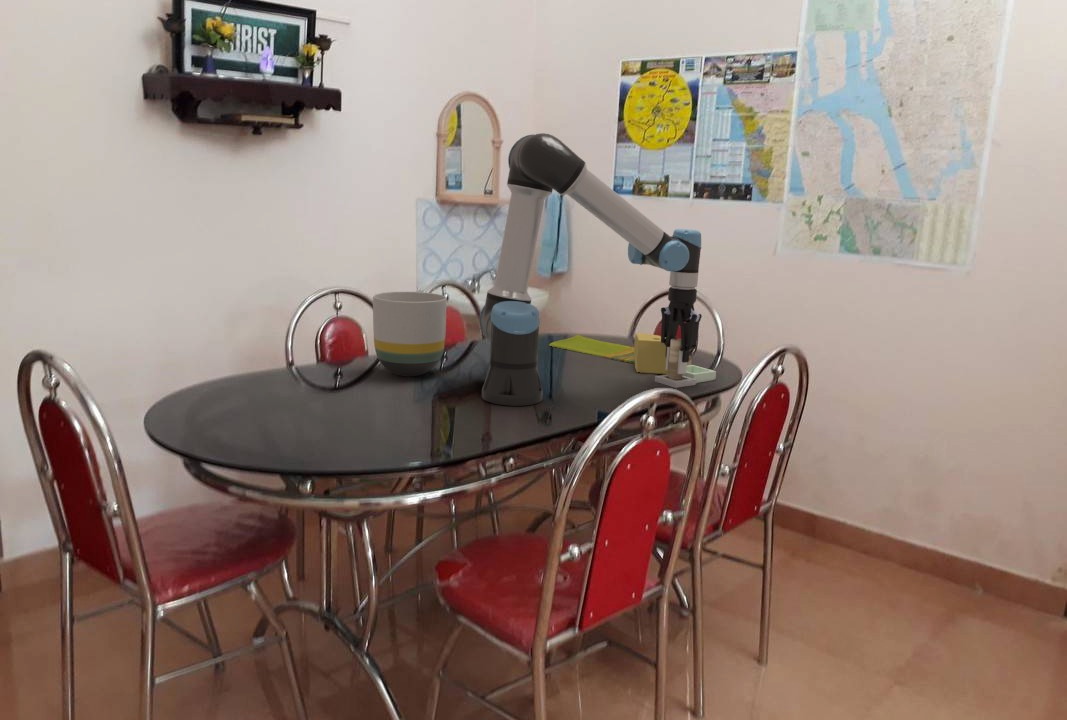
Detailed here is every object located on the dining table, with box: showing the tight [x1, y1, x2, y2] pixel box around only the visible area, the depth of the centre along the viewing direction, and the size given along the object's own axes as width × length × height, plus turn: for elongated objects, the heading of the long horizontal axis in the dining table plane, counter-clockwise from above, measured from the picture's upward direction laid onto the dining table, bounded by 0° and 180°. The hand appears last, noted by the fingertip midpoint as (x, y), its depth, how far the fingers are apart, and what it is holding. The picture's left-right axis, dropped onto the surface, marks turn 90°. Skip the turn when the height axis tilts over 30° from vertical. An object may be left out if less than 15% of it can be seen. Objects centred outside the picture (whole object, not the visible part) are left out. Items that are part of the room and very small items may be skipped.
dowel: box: [668, 338, 683, 381], centre depth 230 cm, size 4×4×12 cm
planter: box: [372, 291, 448, 377], centre depth 226 cm, size 20×20×21 cm
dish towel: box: [548, 334, 635, 365], centre depth 269 cm, size 15×36×3 cm, turn 50°
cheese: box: [633, 332, 668, 375], centre depth 245 cm, size 10×11×10 cm
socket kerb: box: [654, 374, 697, 388], centre depth 231 cm, size 8×8×2 cm
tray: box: [683, 364, 717, 384], centre depth 238 cm, size 9×9×2 cm
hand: (675, 371), depth 231 cm, fingers closed on dowel, 4 cm apart
